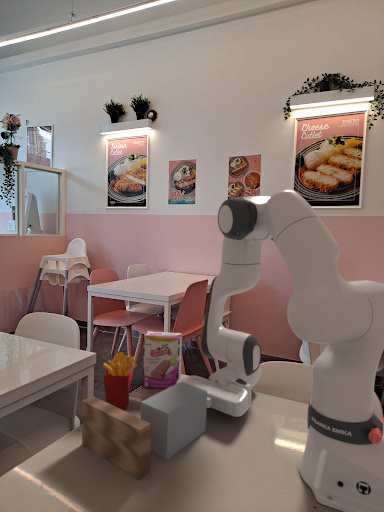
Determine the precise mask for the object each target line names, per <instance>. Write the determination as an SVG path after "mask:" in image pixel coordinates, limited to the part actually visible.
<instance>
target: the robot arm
mask: <svg viewBox="0 0 384 512" xmlns="http://www.w3.org/2000/svg"><path fill="white" fill-rule="evenodd" d="M217 224H218V228H219V231H220V232H221V233H222V235H223V241H222V247H221V265H220V270H219V273H218V275H217V276H215V277H214V278H213V279H212V281H211V284H210V287H209V292H208V298H207V303H206V312H205V316H204V323H203V328H202V330H201V331H202V332H201V334H200V338H199V348H200V350H201V352H202V355H204V357H205V358H206V359H211V360H216V361H221V362H224V363H226V366H225V367H223V368H221V369H219V370H217V371H215V372H212V374H210V376H209V377H208V379H207V378H204V377H201V376H198V375H196V374H195V375H188V376H185V377H181V379H180V380H178V381H177V382H176V384H177V383H179V382H183V383H186V384H189V385H192V386H195V387H197V388H200V389H203V390H206V391H207V406H206V409H208V408H209V409H211V408H212V409H213V410H217V411H220V412H222V413H224V414H227V415H229V416H232V417H234V418H237V417H239V418H241V416H243V415H244V414H246V412H247V411H248V410H249V409H250V408H251V404H252V388H253V387H254V386H255V385H257V382H258V381H259V380H260V378H261V374H262V370H261V366H260V365H261V362H262V348H261V345H260V342H259V340H258V338H257V337H256V335H254V334H252V333H251V334H250V333H247V332H242V331H240V330H234V329H231V328H230V329H229V328H226V327H225V326H224V325H223V319H224V318H223V317H224V312H225V306H226V301H227V299H228V298H229V297H230V296H234V295H239V294H242V293H245V292H248V291H250V290H252V289H253V288H254V287H256V285H257V284H258V283H259V281H260V279H261V276H262V275H261V273H262V245H263V243H264V242H265V241H266V240H271V241H273V242H274V244H275V246H276V247H277V249H278V251H279V253H280V255H281V257H282V258H283V260H284V263H285V265H286V267H287V269H288V270H289V274H290V276H291V280H292V286H293V287H292V288H293V291H292V294H291V297H290V298H289V300H288V303H287V307H286V317H287V321H288V324H289V327H290V330H291V331H292V333H293V334H295V336H296V337H297V338H298V339H300V340H301V341H303V342H305V343H309V344H310V343H311V344H319V345H326V346H325V348H324V349H323V351H322V352H321V354H320V355H319V356H318V357H317V358H316V359H315V362H314V364H313V366H312V377H311V378H312V379H311V394H310V395H311V397H310V398H311V399H310V400H309V401H308V407H307V416H306V418H307V419H306V421H307V430H308V433H307V436H306V437H307V438H306V442H305V447H304V451H303V454H302V457H301V459H300V462H299V466H298V470H299V475H300V477H301V478H302V479H303V481H304V482H305V483H306V485H308V487H310V489H311V490H312V493H313V495H314V497H315V500H316V501H317V502H318V503H319V504H321V505H323V506H327V507H330V508H332V509H335V510H338V511H340V512H384V417H383V416H381V417H380V419H379V418H378V416H377V415H375V413H374V412H373V406H374V405H373V403H374V402H373V401H374V394H375V393H374V391H375V381H376V375H377V370H378V367H379V363H380V360H381V358H382V354H383V352H384V283H383V282H382V283H381V282H377V281H373V280H366V279H365V280H353V281H352V280H351V281H347V280H345V279H344V278H343V276H342V275H341V273H340V270H339V266H338V263H337V262H338V261H339V258H340V256H341V248H340V246H339V244H338V242H337V241H336V239H335V238H334V236H333V234H332V233H331V231H330V230H329V229H328V227H327V226H326V225H325V222H323V220H322V218H321V217H320V216H319V214H318V213H317V211H315V209H314V208H313V207H312V205H311V204H309V202H308V201H307V200H306V199H305V198H304V197H303V196H302V195H301V194H300V193H298V192H296V191H295V190H291V189H285V190H281V191H278V192H275V193H274V194H273V195H271V196H262V195H251V196H250V195H249V196H243V197H242V196H235V197H230V198H228V199H226V200H224V201H223V202H222V203H221V204H220V207H219V208H218V212H217Z"/></svg>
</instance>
